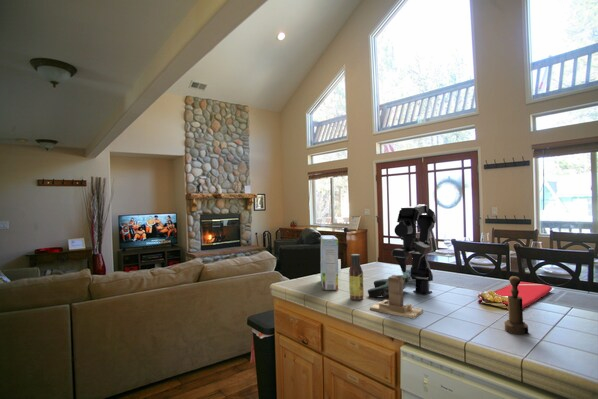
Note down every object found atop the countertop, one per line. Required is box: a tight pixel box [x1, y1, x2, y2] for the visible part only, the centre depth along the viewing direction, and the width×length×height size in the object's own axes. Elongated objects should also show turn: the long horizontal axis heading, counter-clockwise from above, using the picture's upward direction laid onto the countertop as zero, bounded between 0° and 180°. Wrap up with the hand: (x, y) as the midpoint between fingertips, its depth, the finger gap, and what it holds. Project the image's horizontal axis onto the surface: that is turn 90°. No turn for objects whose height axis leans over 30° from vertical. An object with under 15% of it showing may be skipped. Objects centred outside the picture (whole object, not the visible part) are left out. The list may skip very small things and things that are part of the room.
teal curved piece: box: [367, 274, 415, 298], centre depth 156 cm, size 20×6×20 cm
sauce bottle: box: [348, 253, 365, 301], centre depth 150 cm, size 6×6×20 cm
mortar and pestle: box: [504, 275, 529, 336], centre depth 109 cm, size 7×6×18 cm
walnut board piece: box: [387, 274, 404, 307], centre depth 132 cm, size 5×4×12 cm
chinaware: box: [400, 264, 416, 284], centre depth 178 cm, size 15×15×8 cm
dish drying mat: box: [477, 281, 553, 309], centre depth 146 cm, size 16×41×4 cm, turn 128°
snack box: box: [320, 234, 339, 291], centre depth 175 cm, size 22×9×26 cm, turn 179°
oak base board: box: [369, 299, 424, 319], centre depth 132 cm, size 10×18×3 cm, turn 52°
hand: (410, 270), depth 145 cm, fingers open, 9 cm apart
